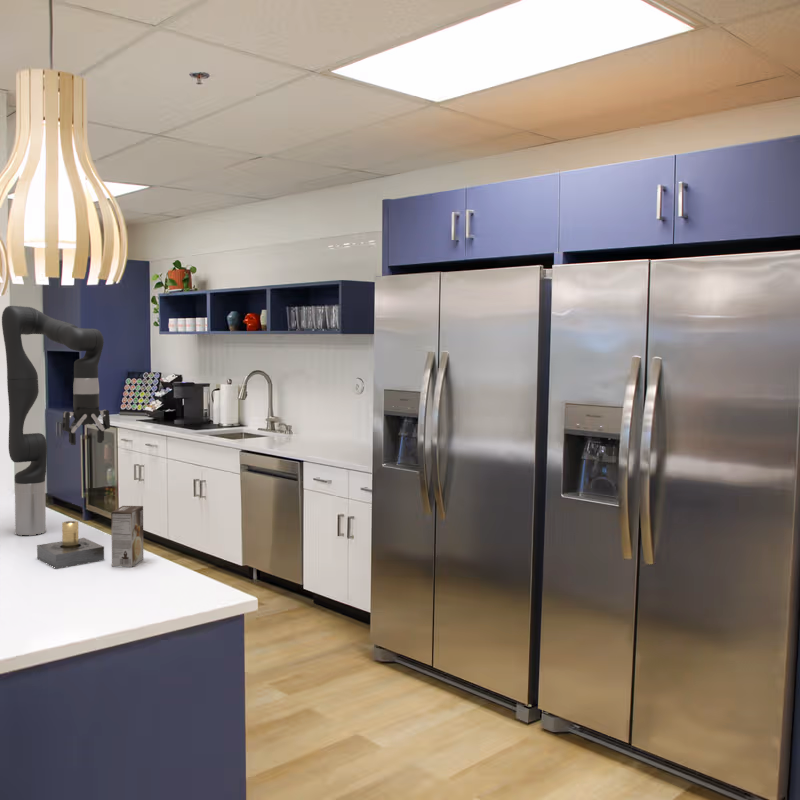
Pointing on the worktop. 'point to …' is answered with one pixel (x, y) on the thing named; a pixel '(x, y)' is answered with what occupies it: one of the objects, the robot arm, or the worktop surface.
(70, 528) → the bushing
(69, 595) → the worktop surface
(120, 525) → the coffee box
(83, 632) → the worktop surface
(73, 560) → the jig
